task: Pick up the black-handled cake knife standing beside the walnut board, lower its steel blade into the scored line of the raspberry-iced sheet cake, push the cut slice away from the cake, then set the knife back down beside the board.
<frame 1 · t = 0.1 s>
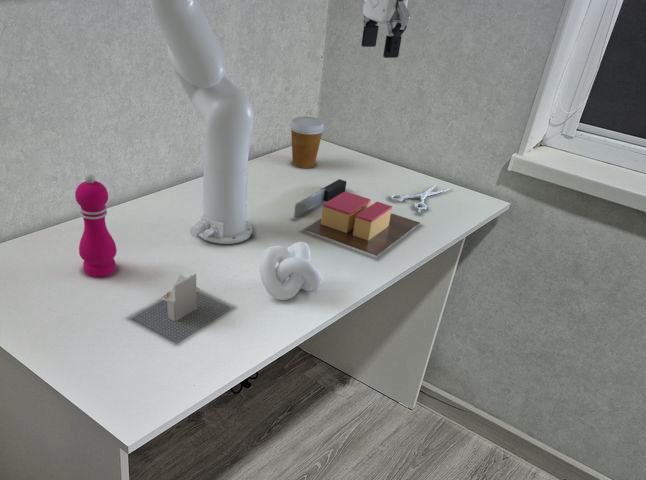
hand: (379, 51, 133), 37 cm above the table, tool pointing down, fingers open, 9 cm apart
scissors: (423, 198, 167), on the table
cake: (344, 221, 152), point 1 cm above the table, touching cake board
disposable coffee cup: (303, 164, 182), on the table
architectural model: (182, 314, 119), on the table
knife: (332, 197, 164), on the table
white knot sculpture: (285, 291, 127), on the table
cake board: (362, 228, 151), on the table
pepper mill: (100, 270, 130), on the table
cake slice: (371, 230, 149), point 1 cm above the table, touching cake board
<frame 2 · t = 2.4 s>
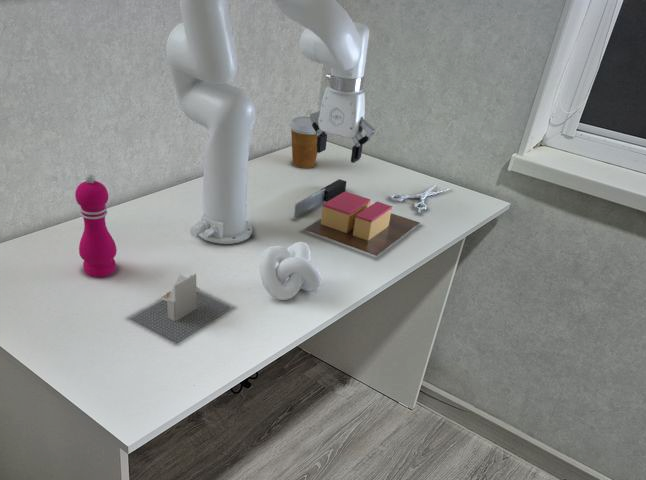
hand: (337, 156, 158), 11 cm above the table, tool pointing down, fingers open, 9 cm apart
nothing on the table moved.
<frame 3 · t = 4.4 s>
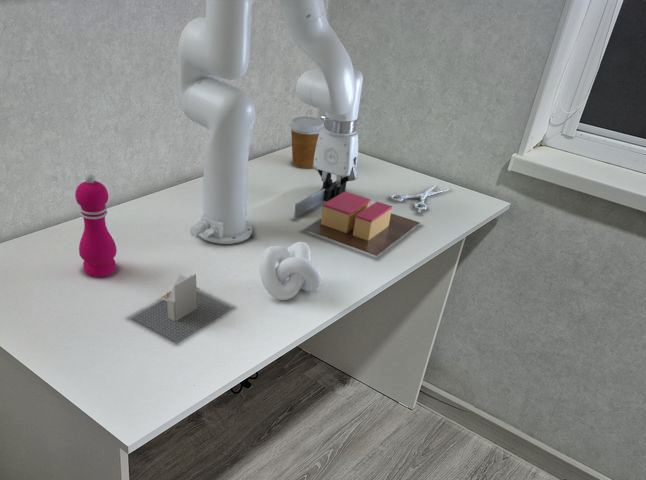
hand: (331, 197, 164), 0 cm above the table, tool pointing down, fingers closed on knife, 2 cm apart
knife: (332, 197, 164), on the table, touching gripper
everything else where it was.
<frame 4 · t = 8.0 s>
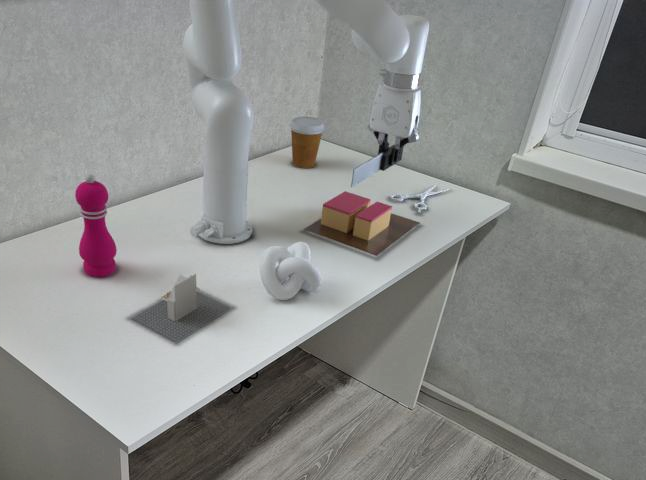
hand: (387, 161, 150), 13 cm above the table, tool pointing down, fingers closed on knife
knife: (388, 164, 151), point 12 cm above the table, touching gripper
everything else where it was.
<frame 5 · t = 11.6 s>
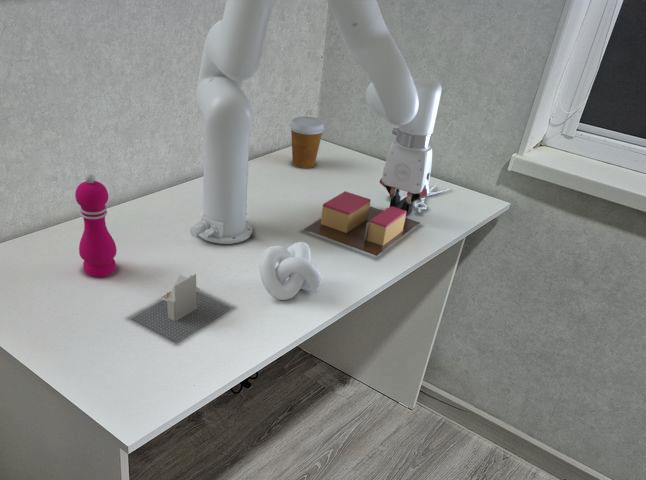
hand: (399, 214, 155), 2 cm above the table, tool pointing down, fingers closed on knife, 2 cm apart
knife: (399, 216, 155), point 1 cm above the table, touching cake board, cake slice, gripper
cake slice: (385, 235, 147), point 1 cm above the table, touching knife
everything else where it was.
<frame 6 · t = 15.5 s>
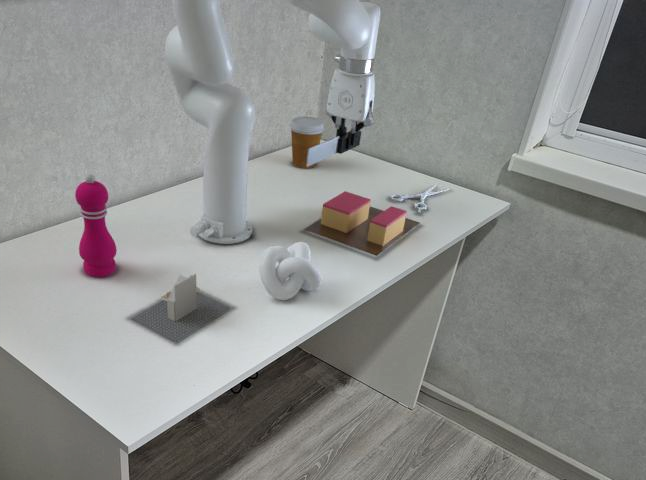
hand: (345, 145, 155), 14 cm above the table, tool pointing down, fingers closed on knife
knife: (346, 148, 156), point 13 cm above the table, touching gripper
cake slice: (385, 235, 147), point 1 cm above the table, touching cake board
everything else where it was.
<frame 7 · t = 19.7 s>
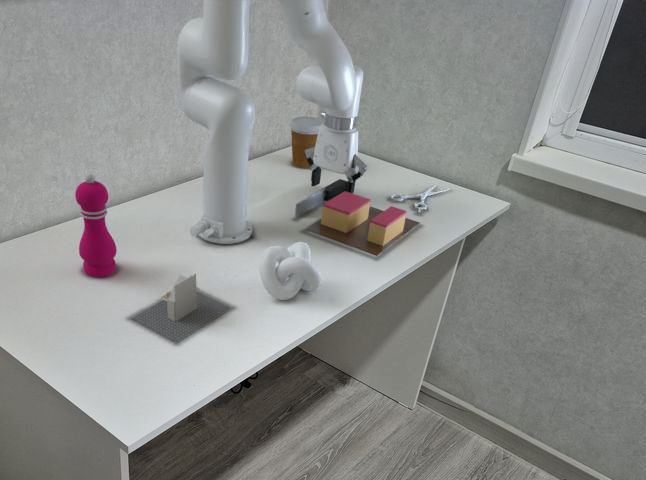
hand: (331, 190, 163), 2 cm above the table, tool pointing down, fingers open, 9 cm apart
knife: (332, 197, 165), on the table
everything else where it was.
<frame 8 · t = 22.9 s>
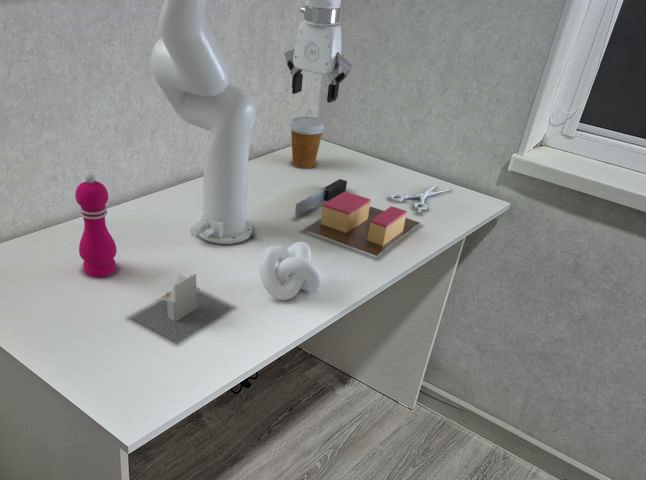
hand: (313, 96, 150), 24 cm above the table, tool pointing down, fingers open, 9 cm apart
nothing on the table moved.
at the end: cake slice moved 3.7 cm from its start; cake moved 0.0 cm from its start; knife inside the target area (0.7 cm from its centre), on the table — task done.
